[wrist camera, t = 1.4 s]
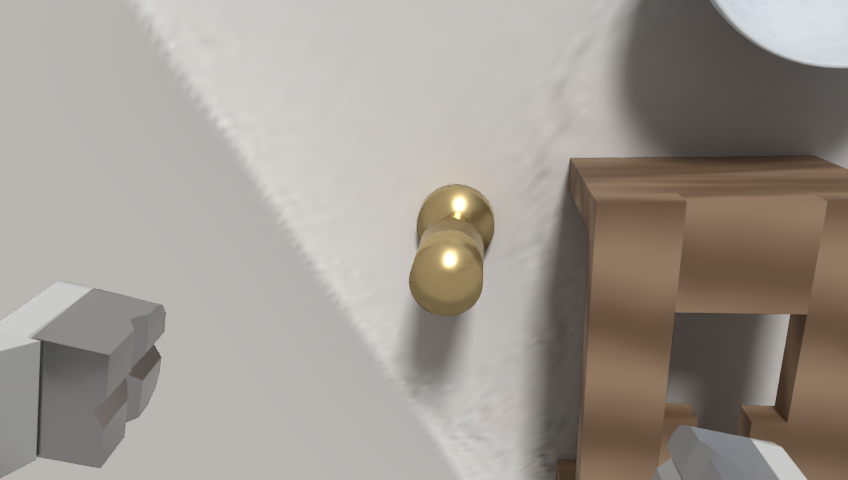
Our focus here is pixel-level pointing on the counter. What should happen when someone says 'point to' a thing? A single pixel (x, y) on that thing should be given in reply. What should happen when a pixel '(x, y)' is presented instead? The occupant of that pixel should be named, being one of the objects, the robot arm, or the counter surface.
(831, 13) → the chinaware
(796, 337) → the keyhole shelf
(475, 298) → the brass peg
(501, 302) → the counter surface
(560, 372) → the counter surface
